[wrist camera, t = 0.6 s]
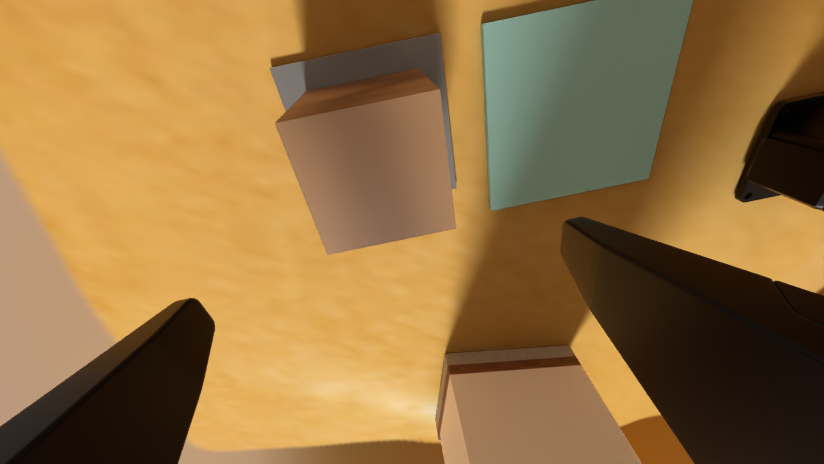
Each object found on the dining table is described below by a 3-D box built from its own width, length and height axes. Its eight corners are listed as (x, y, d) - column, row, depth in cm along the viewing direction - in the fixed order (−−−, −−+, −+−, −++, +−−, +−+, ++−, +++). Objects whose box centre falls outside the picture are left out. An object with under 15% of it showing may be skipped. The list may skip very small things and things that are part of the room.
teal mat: (691, -20, 15) (698, -21, 15) (644, 176, 21) (648, 178, 20) (480, 23, 15) (483, 23, 15) (489, 208, 21) (491, 211, 20)
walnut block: (417, 68, 16) (439, 89, 11) (433, 173, 19) (456, 228, 14) (305, 91, 16) (275, 123, 11) (339, 192, 19) (327, 255, 14)
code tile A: (438, 32, 15) (440, 32, 15) (455, 186, 20) (456, 188, 19) (271, 67, 15) (269, 67, 15) (325, 212, 20) (324, 215, 19)
